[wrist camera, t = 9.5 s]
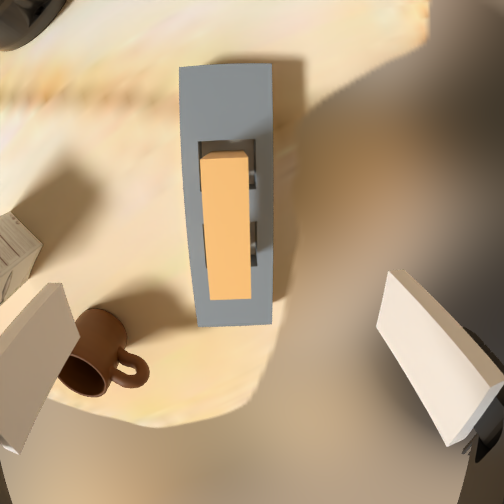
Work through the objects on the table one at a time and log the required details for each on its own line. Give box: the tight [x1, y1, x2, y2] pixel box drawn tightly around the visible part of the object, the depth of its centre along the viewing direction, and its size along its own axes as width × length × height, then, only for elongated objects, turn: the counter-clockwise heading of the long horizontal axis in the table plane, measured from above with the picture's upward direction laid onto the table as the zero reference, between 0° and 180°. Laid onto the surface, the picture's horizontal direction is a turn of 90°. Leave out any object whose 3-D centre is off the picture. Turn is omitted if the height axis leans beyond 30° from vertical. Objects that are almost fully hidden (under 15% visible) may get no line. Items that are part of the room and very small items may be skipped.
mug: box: [58, 309, 150, 397], centre depth 32 cm, size 12×8×9 cm, turn 82°
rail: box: [179, 63, 273, 327], centre depth 29 cm, size 26×8×4 cm, turn 1°
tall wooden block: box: [200, 150, 251, 300], centre depth 25 cm, size 10×3×10 cm, turn 1°
